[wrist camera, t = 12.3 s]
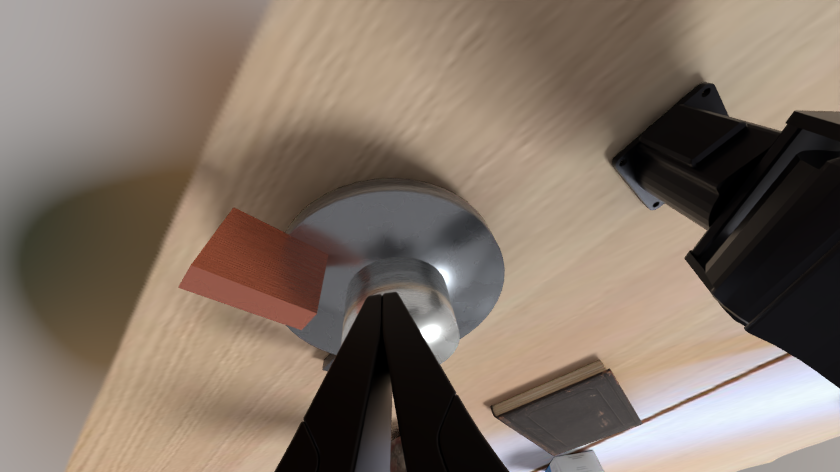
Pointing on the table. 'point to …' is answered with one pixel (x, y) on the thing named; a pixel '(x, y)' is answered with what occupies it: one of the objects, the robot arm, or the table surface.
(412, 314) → the cover
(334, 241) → the turntable
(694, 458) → the table surface
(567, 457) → the ink box
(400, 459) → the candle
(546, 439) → the hardcover book
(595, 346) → the table surface
